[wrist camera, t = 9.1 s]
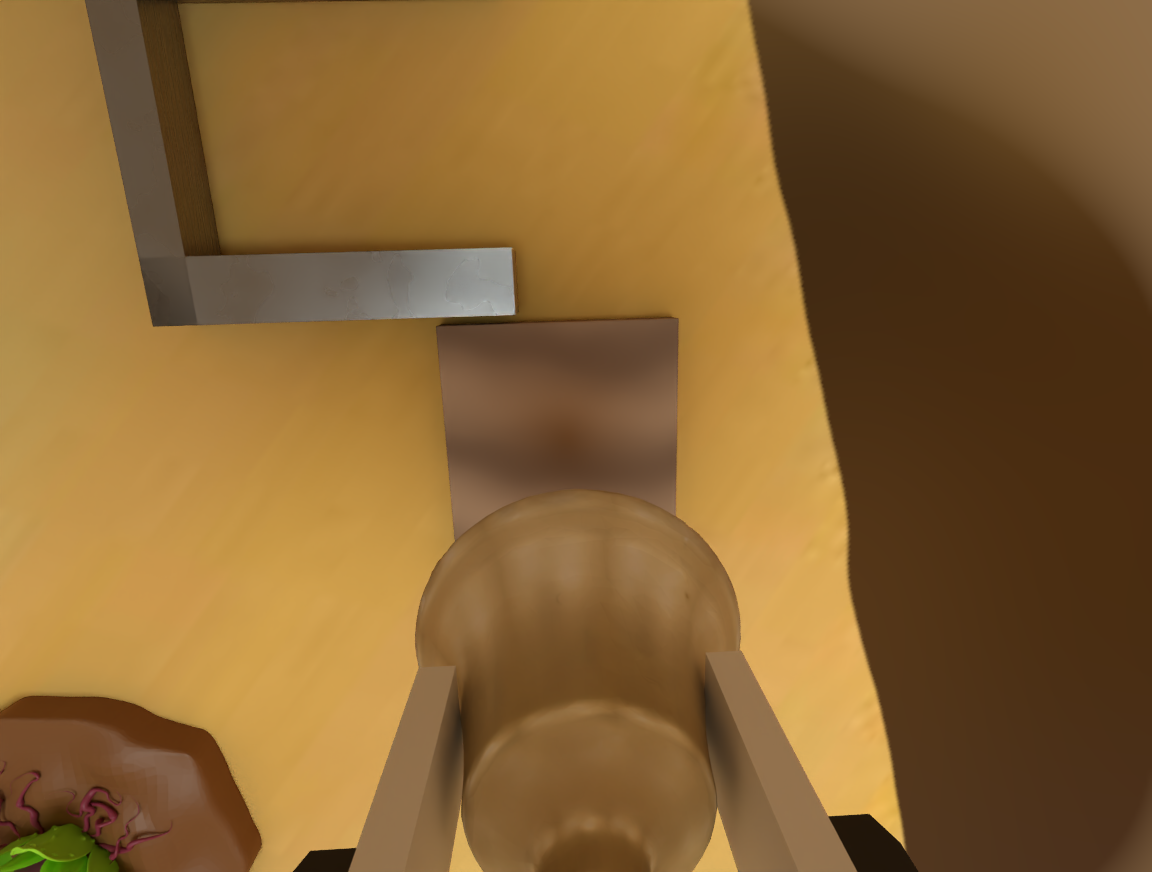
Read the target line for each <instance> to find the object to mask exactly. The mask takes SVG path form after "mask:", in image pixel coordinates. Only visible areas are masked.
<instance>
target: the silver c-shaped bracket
mask: <svg viewBox="0 0 1152 872" xmlns="http://www.w3.org/2000/svg"><path fill="white" fill-rule="evenodd" d="M284 1H360V0H85V3H86V7H87V12H88V17H89V22H90V26H91V31H92V36H93V41H94V46H95V50H96V55H97V60H98V65H99V70H100V74H101V79H102V84H103V89H104V94H105V98H106V103H107V108H108V113H109V118H110V122H111V127H112V132H113V137H114V142H115V146H116V151H117V156H118V161H119V166H120V170H121V175H122V180H123V185H124V189H125V194H126V199H127V204H128V209H129V213H130V218H131V223H132V228H133V233H134V237H135V242H136V247H137V252H138V257H139V261H140V266H141V271H142V276H143V281H144V285H145V290H146V295H147V300H148V305H149V309H150V314H151V319H152V324H153V326H183V325H215V324H246V323H277V322H309V321H340V320H371V319H403V318H434V317H465V316H497V315H516V314H517V313H518V312H519V310H518V291H517V272H516V253H515V250H514V249H513V248H512V247H509V248H473V249H438V250H402V251H366V252H330V253H294V254H258V255H223V256H221V253H220V247H219V241H218V236H217V230H216V224H215V218H214V213H213V207H212V201H211V195H210V190H209V184H208V178H207V172H206V167H205V161H204V155H203V150H202V144H201V138H200V132H199V127H198V121H197V115H196V109H195V104H194V98H193V92H192V87H191V81H190V75H189V69H188V64H187V58H186V52H185V46H184V41H183V35H182V29H181V23H180V18H179V12H178V6H177V3H208V2H284Z"/></svg>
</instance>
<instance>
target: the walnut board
mask: <svg viewBox="0 0 1152 872" xmlns="http://www.w3.org/2000/svg"><path fill="white" fill-rule="evenodd" d="M436 332H437V344H438V355H439V366H440V378H441V389H442V400H443V412H444V423H445V434H446V446H447V457H448V468H449V480H450V491H451V502H452V513H453V525H454V536H455V541H456V540H457V539H458V538H459V537H460V536H461V535H462V534H464V533H465V532H466V531H467V530H469V529H470V528H471V527H472V526H474V525H475V524H476V523H478V522H479V521H481V520H482V519H483V518H485V517H486V516H488V515H489V514H491V513H493V512H495V511H497V510H498V509H500V508H502V507H504V506H506V505H509V504H511V503H513V502H515V501H518V500H521V499H523V498H526V497H529V496H534V495H539V494H542V493H548V492H554V491H561V490H571V489H588V490H602V491H608V492H614V493H620V494H624V495H628V496H632V497H636V498H639V499H642V500H644V501H647V502H649V503H651V504H653V505H656V506H658V507H660V508H662V509H664V510H666V511H667V512H669V513H671V514H673V515H674V516H676V453H677V385H678V318H674V317H658V318H627V319H596V320H565V321H534V322H503V323H472V324H441V325H439V326H436Z"/></svg>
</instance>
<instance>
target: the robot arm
mask: <svg viewBox="0 0 1152 872" xmlns="http://www.w3.org/2000/svg"><path fill="white" fill-rule="evenodd" d="M705 702H706V736H707V743H708V751H709V757H710V763H711V768H712V772H713V777H714V781H715V786H716V793H717V807H718V810H719V813H720V816H721V820H722V823H723V826H724V829H725V832H726V835H727V838H728V841H729V844H730V848H731V851H732V854H733V857H734V860H735V863H736V866H737V869H738V872H918V870H917V869H916V867H915V866H914V864H913V862H912V861H911V859H910V857H909V856H908V854H907V853H906V851H905V850H904V848H903V846H902V845H901V843H900V842H899V841H898V840H897V839H896V838H894V837H893V836H892V835H891V834H890V833H889V832H888V831H887V830H886V829H885V828H884V827H883V826H882V825H880V824H879V823H878V822H877V821H876V820H875V819H874V818H873V817H872V816H871V815H870V814H861V815H845V816H828V815H827V813H826V811H825V809H824V808H823V806H822V804H821V802H820V800H819V798H818V796H817V794H816V792H815V790H814V788H813V787H812V785H811V783H810V781H809V779H808V777H807V775H806V773H805V771H804V769H803V767H802V766H801V764H800V762H799V760H798V758H797V756H796V754H795V752H794V750H793V748H792V747H791V745H790V743H789V741H788V739H787V737H786V735H785V733H784V731H783V729H782V727H781V726H780V724H779V722H778V720H777V718H776V716H775V714H774V712H773V710H772V708H771V706H770V705H769V703H768V701H767V699H766V697H765V695H764V693H763V691H762V689H761V687H760V685H759V684H758V682H757V680H756V678H755V676H754V674H753V672H752V670H751V668H750V666H749V665H748V663H747V661H746V659H745V657H744V655H743V653H742V651H726V652H706V657H705ZM463 770H464V750H463V739H462V728H461V721H460V706H459V695H458V685H457V674H456V666H439V667H420V668H419V669H418V672H417V674H416V677H415V680H414V683H413V686H412V689H411V692H410V695H409V698H408V701H407V703H406V706H405V709H404V712H403V715H402V718H401V721H400V724H399V727H398V729H397V732H396V735H395V738H394V741H393V744H392V747H391V750H390V753H389V756H388V758H387V761H386V764H385V767H384V770H383V773H382V776H381V779H380V782H379V784H378V787H377V790H376V793H375V796H374V799H373V802H372V805H371V808H370V811H369V813H368V816H367V819H366V822H365V825H364V828H363V831H362V834H361V837H360V839H359V842H358V845H357V848H349V849H334V850H318V851H310V852H309V853H308V854H307V856H306V857H305V858H304V859H303V860H302V862H301V863H300V864H299V865H298V866H297V868H296V869H295V870H294V871H293V872H449V868H450V862H451V856H452V851H453V845H454V839H455V833H456V828H457V822H458V816H459V810H460V805H461V799H462V789H463Z"/></svg>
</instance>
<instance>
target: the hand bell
mask: <svg viewBox="0 0 1152 872" xmlns="http://www.w3.org/2000/svg"><path fill="white" fill-rule="evenodd" d="M740 640H741V633H740V614H739V608H738V603H737V599H736V595H735V591H734V589H733V586H732V583H731V581H730V579H729V576H728V574H727V572H726V570H725V568H724V567H723V565H722V564H721V562H720V561H719V559H718V557H717V556H716V554H715V553H714V552H713V550H712V549H711V548H710V547H709V545H708V544H707V543H706V542H705V541H704V539H703V538H702V537H701V536H700V535H699V534H698V533H697V532H696V531H694V530H693V529H692V528H690V527H689V526H688V525H687V524H686V523H685V522H684V521H682V520H681V519H679V518H677V517H676V516H674V515H673V514H671V513H669V512H667V511H666V510H664V509H662V508H660V507H658V506H656V505H653V504H651V503H649V502H647V501H644V500H642V499H639V498H636V497H632V496H628V495H624V494H620V493H614V492H608V491H602V490H588V489H571V490H561V491H554V492H548V493H542V494H539V495H534V496H529V497H526V498H523V499H521V500H518V501H515V502H513V503H511V504H509V505H506V506H504V507H502V508H500V509H498V510H497V511H495V512H493V513H491V514H489V515H488V516H486V517H485V518H483V519H482V520H481V521H479V522H478V523H476V524H475V525H474V526H472V527H471V528H470V529H469V530H467V531H466V532H465V533H464V534H462V535H461V536H460V537H459V538H458V539H457V540H456V541H455V542H454V543H453V544H452V546H451V547H450V548H449V550H448V551H447V552H446V553H445V554H444V555H443V557H442V558H441V559H440V560H439V561H438V563H437V565H436V566H435V568H434V570H433V571H432V574H431V576H430V579H429V581H428V583H427V585H426V587H425V590H424V592H423V595H422V598H421V601H420V605H419V610H418V615H417V622H416V631H415V647H416V656H417V661H418V666H419V668H420V667H439V666H456V674H457V685H458V695H459V706H460V721H461V728H462V739H463V750H464V770H463V789H462V804H461V817H462V822H463V827H464V832H465V835H466V838H467V841H468V844H469V847H470V849H471V851H472V853H473V855H474V857H475V859H476V861H477V862H478V864H479V866H480V867H481V869H482V870H483V871H484V872H692V871H693V870H694V868H695V867H696V865H697V864H698V862H699V860H700V859H701V857H702V856H703V854H704V852H705V850H706V848H707V846H708V844H709V842H710V839H711V836H712V832H713V828H714V824H715V818H716V811H717V793H716V786H715V781H714V777H713V772H712V768H711V763H710V757H709V751H708V743H707V736H706V702H705V657H706V652H726V651H739V649H740Z"/></svg>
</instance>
